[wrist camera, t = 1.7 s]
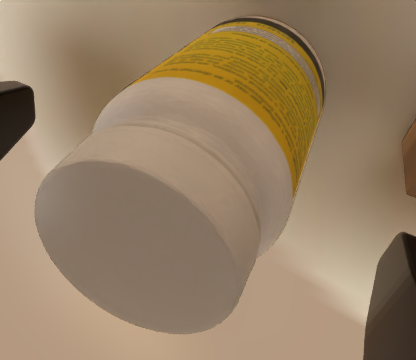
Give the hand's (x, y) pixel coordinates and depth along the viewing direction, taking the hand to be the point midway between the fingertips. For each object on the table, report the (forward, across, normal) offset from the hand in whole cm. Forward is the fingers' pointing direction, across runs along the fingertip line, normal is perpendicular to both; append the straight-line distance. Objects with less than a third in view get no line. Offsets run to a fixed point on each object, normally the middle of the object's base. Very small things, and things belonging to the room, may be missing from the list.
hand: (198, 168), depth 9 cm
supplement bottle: (+6, 0, 0) cm, 6 cm away
